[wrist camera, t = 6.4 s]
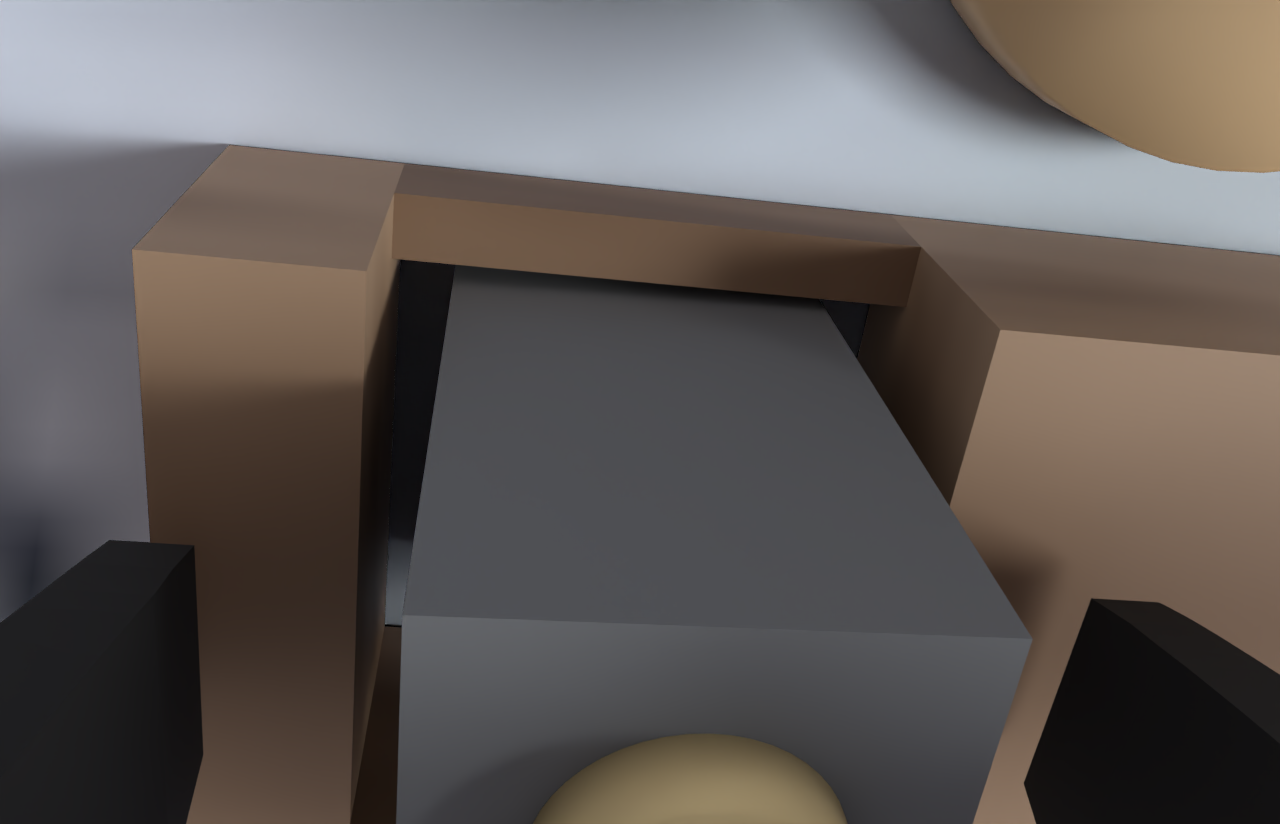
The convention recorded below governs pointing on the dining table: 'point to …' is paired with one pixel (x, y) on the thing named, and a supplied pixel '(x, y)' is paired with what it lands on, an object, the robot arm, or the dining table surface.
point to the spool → (1149, 71)
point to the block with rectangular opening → (695, 257)
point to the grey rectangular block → (685, 574)
